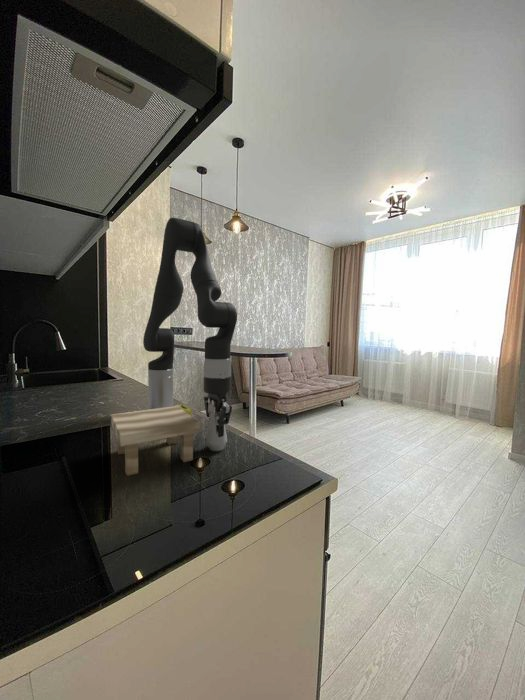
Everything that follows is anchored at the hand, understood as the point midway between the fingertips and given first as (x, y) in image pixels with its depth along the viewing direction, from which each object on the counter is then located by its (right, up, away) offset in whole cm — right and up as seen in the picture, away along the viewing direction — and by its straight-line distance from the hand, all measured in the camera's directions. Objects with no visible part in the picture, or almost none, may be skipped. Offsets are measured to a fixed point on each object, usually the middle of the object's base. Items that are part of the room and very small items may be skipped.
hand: (216, 435), depth 81 cm
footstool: (-16, -4, -5) cm, 17 cm away
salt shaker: (0, -4, 0) cm, 4 cm away
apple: (-15, -3, +15) cm, 21 cm away
